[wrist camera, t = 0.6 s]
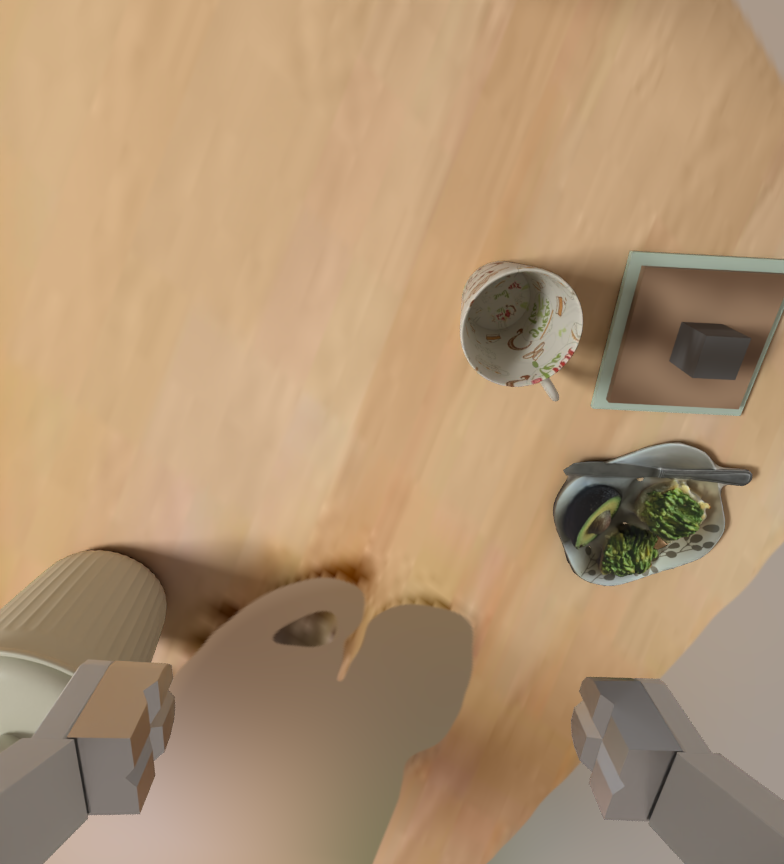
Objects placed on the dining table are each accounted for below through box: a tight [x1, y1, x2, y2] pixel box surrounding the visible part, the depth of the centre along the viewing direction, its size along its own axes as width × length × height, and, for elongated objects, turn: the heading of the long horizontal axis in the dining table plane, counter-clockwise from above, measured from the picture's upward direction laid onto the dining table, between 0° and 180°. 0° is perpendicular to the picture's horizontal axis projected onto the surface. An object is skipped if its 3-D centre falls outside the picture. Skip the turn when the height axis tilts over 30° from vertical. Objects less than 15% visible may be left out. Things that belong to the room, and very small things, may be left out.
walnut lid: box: [606, 265, 784, 409], centre depth 43 cm, size 12×12×5 cm
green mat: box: [591, 251, 784, 416], centre depth 45 cm, size 14×14×1 cm
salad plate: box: [553, 442, 752, 586], centre depth 52 cm, size 19×18×5 cm
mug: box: [460, 261, 583, 401], centre depth 40 cm, size 8×13×10 cm, turn 36°
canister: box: [0, 550, 167, 753], centre depth 50 cm, size 18×18×21 cm
